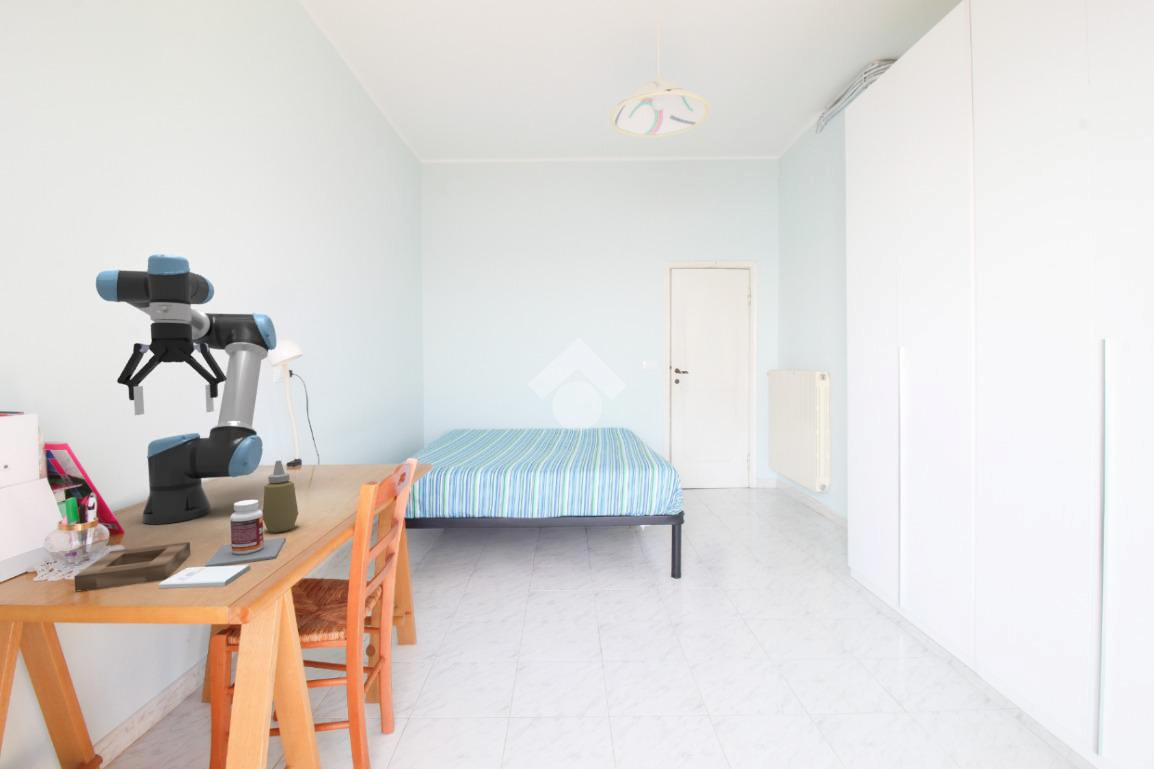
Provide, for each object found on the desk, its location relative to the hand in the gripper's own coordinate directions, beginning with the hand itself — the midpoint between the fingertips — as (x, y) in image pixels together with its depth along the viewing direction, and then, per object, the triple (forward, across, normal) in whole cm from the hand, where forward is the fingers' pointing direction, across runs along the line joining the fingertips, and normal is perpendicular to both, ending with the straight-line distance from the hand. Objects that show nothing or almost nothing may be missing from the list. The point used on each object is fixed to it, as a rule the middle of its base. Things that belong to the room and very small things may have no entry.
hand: (175, 413), depth 118 cm
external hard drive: (+32, +12, -25) cm, 42 cm away
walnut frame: (+32, -3, -15) cm, 35 cm away
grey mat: (+32, +16, -12) cm, 37 cm away
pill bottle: (+31, +16, -12) cm, 37 cm away
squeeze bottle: (+32, +20, +4) cm, 38 cm away
